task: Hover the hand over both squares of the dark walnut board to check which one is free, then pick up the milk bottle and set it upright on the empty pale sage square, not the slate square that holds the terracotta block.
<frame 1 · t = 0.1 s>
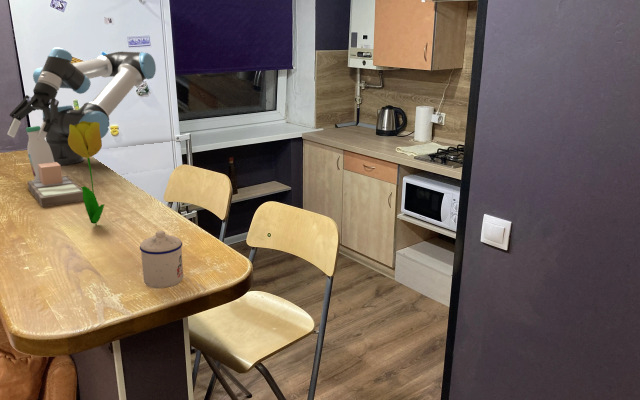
hand: (25, 137, 192), 16 cm above the counter, tool tilted 35°, fingers open, 13 cm apart
flower: (95, 225, 154), on the counter
terracotta block: (51, 181, 185), point 3 cm above the counter, touching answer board
milk bottle: (47, 181, 194), on the counter, touching gripper
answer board: (56, 194, 181), on the counter
teacup with lid: (162, 278, 122), on the counter
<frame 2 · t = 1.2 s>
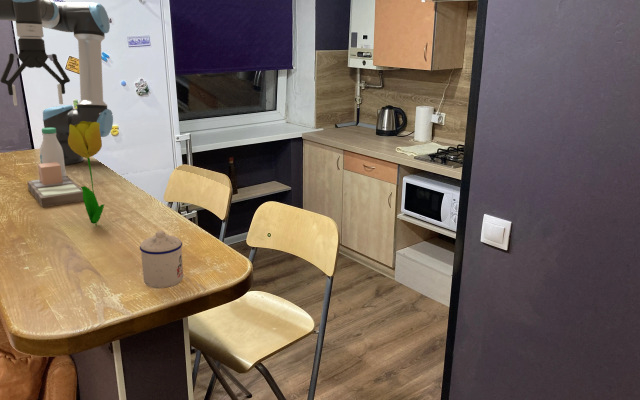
hand: (38, 104, 178), 29 cm above the counter, tool pointing down, fingers open, 13 cm apart
milk bottle: (54, 183, 195), on the counter
everything else where it was.
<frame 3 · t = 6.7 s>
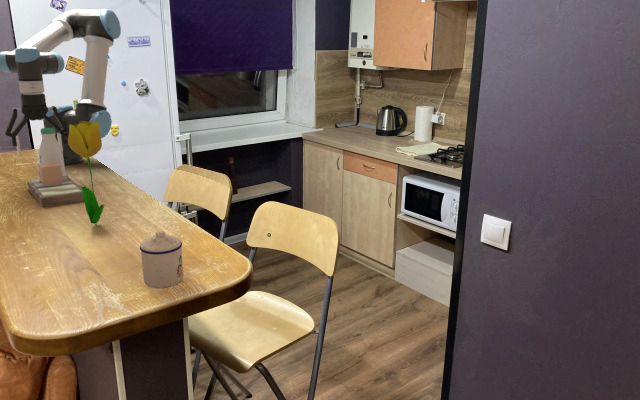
hand: (40, 153, 192), 11 cm above the counter, tool pointing down, fingers open, 13 cm apart
nothing on the counter moved.
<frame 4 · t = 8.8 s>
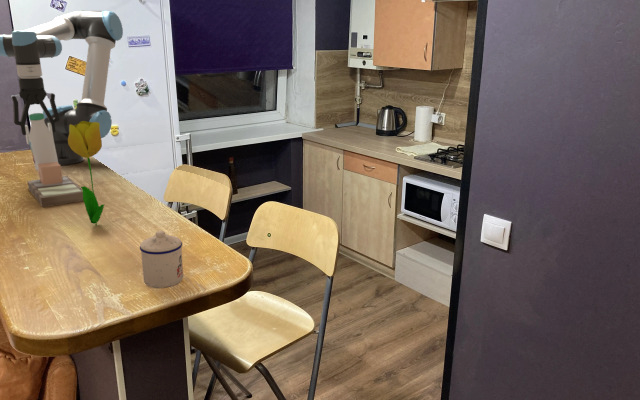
hand: (40, 142, 191), 15 cm above the counter, tool pointing down, fingers closed on milk bottle, 7 cm apart
milk bottle: (47, 168, 193), point 5 cm above the counter, touching gripper
everything else where it was.
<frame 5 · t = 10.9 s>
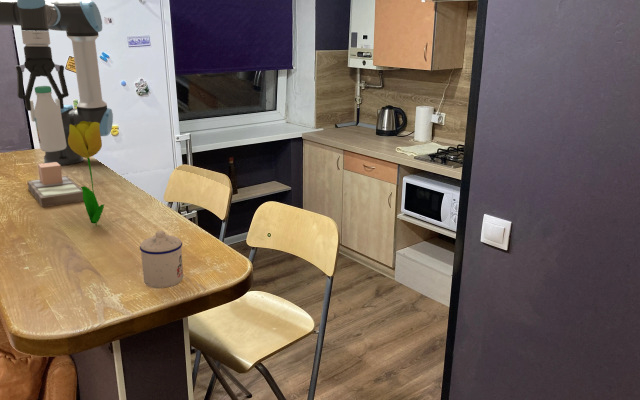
hand: (46, 119, 171), 26 cm above the counter, tool pointing down, fingers closed on milk bottle, 7 cm apart
milk bottle: (54, 149, 173), point 16 cm above the counter, touching gripper
everything else where it was.
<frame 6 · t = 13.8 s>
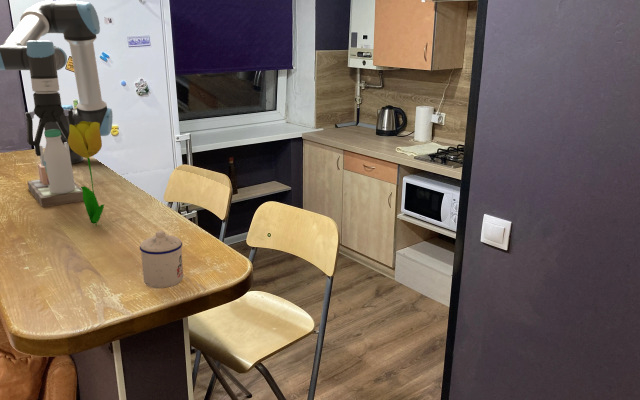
hand: (56, 163, 173), 12 cm above the counter, tool pointing down, fingers closed on milk bottle, 7 cm apart
milk bottle: (62, 190, 174), point 3 cm above the counter, touching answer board, gripper
everything else where it was.
when the fingers open (12 cm above the counter, at t = 14.6 s): milk bottle stays where it is, resting on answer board.
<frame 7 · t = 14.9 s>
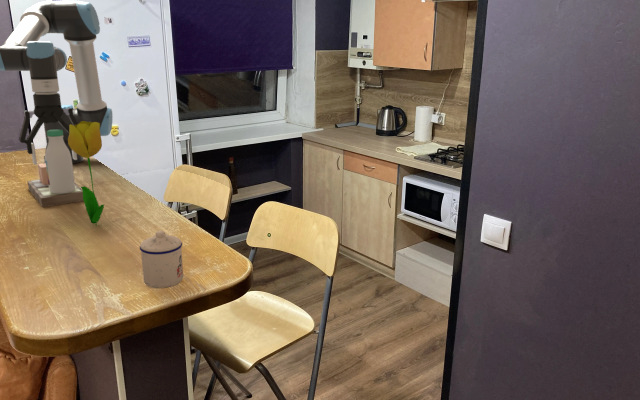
hand: (55, 161, 173), 13 cm above the counter, tool pointing down, fingers open, 11 cm apart
milk bottle: (62, 191, 174), point 3 cm above the counter, touching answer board
everything else where it was.
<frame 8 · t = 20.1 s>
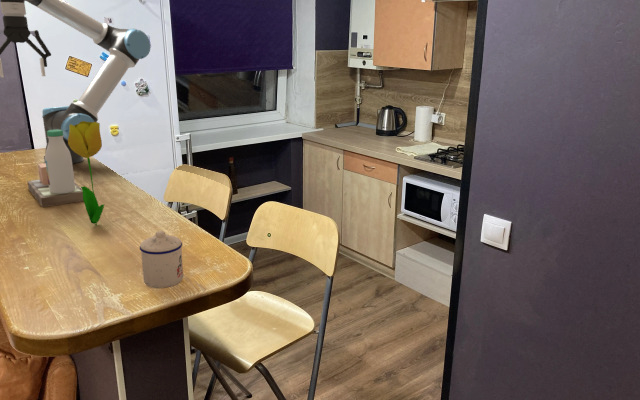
hand: (23, 76, 196), 37 cm above the counter, tool pointing down, fingers open, 13 cm apart
nothing on the counter moved.
at the end: milk bottle 2.3 cm from the target spot on the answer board, point 3.0 cm above the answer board's base; milk bottle tilted 0°; the gripper is holding nothing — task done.
